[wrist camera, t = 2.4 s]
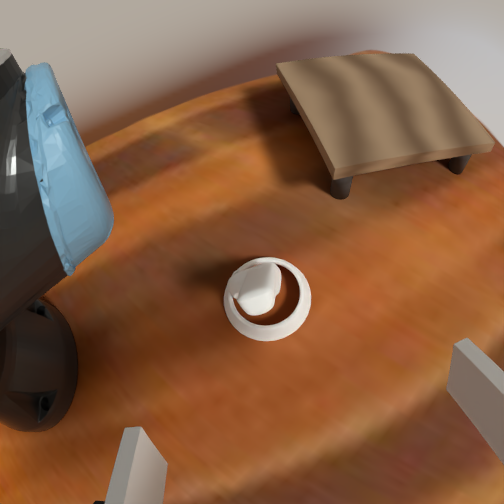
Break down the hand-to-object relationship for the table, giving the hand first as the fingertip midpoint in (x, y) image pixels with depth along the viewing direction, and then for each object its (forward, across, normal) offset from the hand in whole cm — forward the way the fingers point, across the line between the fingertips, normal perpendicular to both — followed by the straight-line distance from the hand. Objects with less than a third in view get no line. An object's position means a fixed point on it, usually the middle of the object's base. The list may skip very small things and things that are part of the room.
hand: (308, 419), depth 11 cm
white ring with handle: (+17, 0, -3) cm, 17 cm away
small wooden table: (+28, +18, +9) cm, 34 cm away
